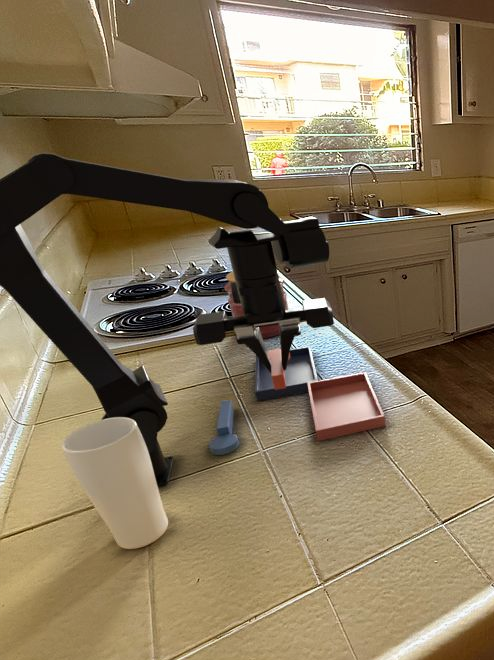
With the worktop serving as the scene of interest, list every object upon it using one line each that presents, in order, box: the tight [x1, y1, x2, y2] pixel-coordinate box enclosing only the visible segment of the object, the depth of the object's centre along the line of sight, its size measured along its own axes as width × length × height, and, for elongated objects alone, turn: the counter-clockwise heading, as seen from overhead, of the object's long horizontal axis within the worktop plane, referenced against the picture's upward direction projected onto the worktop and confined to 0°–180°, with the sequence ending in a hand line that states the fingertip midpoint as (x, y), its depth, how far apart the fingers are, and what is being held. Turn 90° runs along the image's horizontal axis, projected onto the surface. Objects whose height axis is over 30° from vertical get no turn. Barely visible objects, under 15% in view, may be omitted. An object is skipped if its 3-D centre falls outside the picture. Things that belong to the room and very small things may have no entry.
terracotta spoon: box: [267, 347, 290, 390], centre depth 75 cm, size 13×4×2 cm, turn 23°
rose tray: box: [307, 371, 387, 442], centre depth 82 cm, size 17×11×2 cm, turn 23°
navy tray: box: [254, 346, 319, 402], centre depth 93 cm, size 17×11×2 cm, turn 23°
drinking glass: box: [60, 417, 169, 550], centre depth 53 cm, size 7×7×15 cm
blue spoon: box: [208, 399, 240, 456], centre depth 75 cm, size 13×4×2 cm, turn 23°
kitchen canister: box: [223, 269, 290, 339], centre depth 111 cm, size 13×13×18 cm
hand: (278, 370), depth 73 cm, fingers closed on terracotta spoon, 2 cm apart
